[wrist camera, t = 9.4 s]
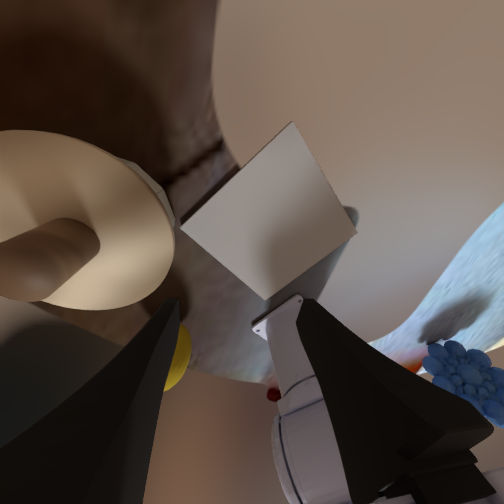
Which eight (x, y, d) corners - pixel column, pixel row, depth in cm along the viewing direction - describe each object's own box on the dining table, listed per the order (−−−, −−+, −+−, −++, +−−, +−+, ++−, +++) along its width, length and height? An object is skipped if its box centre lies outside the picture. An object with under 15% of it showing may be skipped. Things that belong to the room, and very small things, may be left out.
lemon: (146, 304, 22) (113, 376, 15) (196, 306, 23) (187, 374, 16) (148, 337, 24) (120, 412, 17) (193, 337, 26) (184, 408, 19)
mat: (354, 230, 21) (357, 232, 21) (264, 297, 24) (265, 300, 24) (290, 121, 16) (292, 120, 15) (181, 225, 18) (180, 227, 18)
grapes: (397, 365, 38) (465, 448, 27) (404, 343, 34) (485, 429, 24) (452, 349, 38) (541, 426, 28) (465, 327, 35) (571, 404, 24)
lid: (209, 237, 14) (205, 273, 10) (113, 324, 17) (78, 381, 13) (21, 69, 9) (-147, 3, 5) (-79, 233, 12) (-246, 281, 7)
